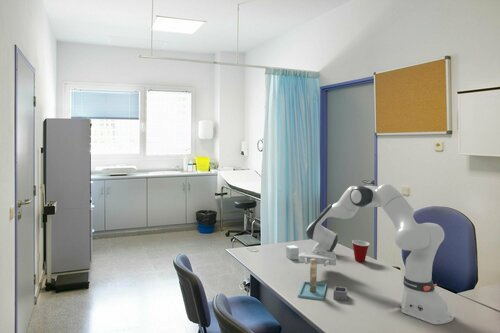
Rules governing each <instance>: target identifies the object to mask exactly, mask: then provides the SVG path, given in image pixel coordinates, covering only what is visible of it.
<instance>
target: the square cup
mask: <svg viewBox="0 0 500 333" xmlns="http://www.w3.org/2000/svg"><path fill="white" fill-rule="evenodd" d="M333 300H337V301H345V302H347V300H348V287H347V286H346V287H345V286H336V285H334V286H333Z"/></svg>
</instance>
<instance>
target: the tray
mask: <svg viewBox="0 0 500 333" xmlns="http://www.w3.org/2000/svg"><path fill="white" fill-rule="evenodd" d="M327 286H328V284H327V283H322V282H316V292H314V293H313V292H310V281H305V280H303V282H302V283H301V287H300V289H299V292H298V294H297V298H301V299H302V298H304V299H309V300H317V301H324V299H325V294H326V291H327V288H328V287H327Z"/></svg>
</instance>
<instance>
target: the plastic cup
mask: <svg viewBox="0 0 500 333" xmlns="http://www.w3.org/2000/svg"><path fill="white" fill-rule="evenodd" d="M351 242H352V243H351V244H352V247H353V255H354V261H355V262H357V263H365V261H366V257H367V253H368V249H369V246H370V242H368V241H365V240H359V239H355V240H354V239H353V240H352V241H351Z"/></svg>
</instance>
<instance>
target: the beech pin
mask: <svg viewBox="0 0 500 333" xmlns="http://www.w3.org/2000/svg"><path fill="white" fill-rule="evenodd" d="M309 265H310V266H309V282H310V292H313V293H314V292H316V283H317V276H318V275H317V271H318V270H317V269H318V268H317V267H318V264H317V260H316V259H310V263H309Z"/></svg>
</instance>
